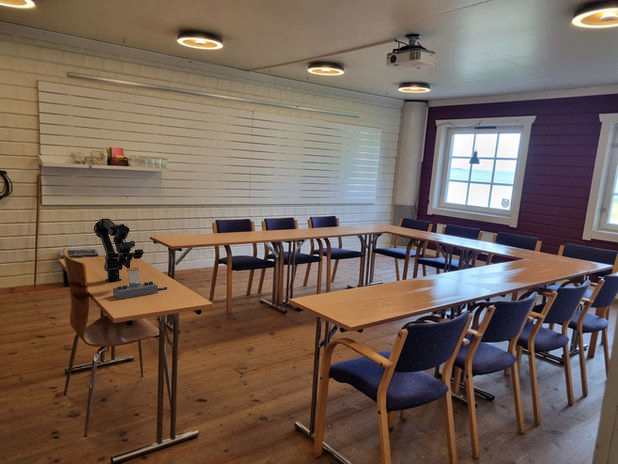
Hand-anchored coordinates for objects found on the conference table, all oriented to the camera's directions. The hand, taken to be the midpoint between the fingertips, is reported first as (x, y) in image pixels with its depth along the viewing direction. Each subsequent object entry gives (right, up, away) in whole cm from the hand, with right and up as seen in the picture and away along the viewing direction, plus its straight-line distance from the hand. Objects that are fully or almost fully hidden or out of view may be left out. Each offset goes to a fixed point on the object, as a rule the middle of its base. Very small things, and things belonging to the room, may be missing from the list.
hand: (129, 268), depth 228 cm
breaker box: (+8, -13, -2) cm, 15 cm away
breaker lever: (+5, -8, -4) cm, 10 cm away
